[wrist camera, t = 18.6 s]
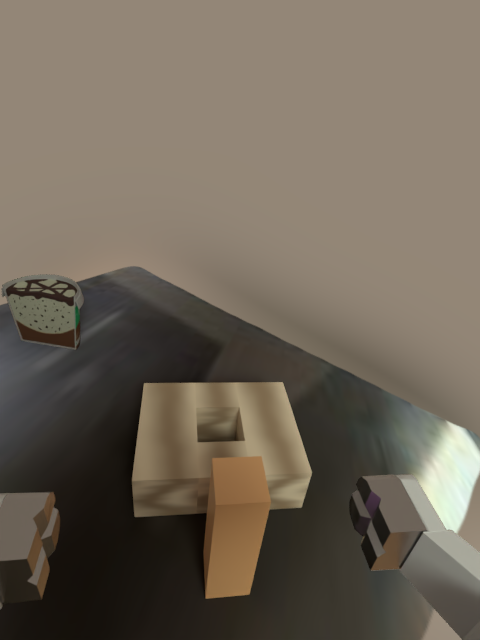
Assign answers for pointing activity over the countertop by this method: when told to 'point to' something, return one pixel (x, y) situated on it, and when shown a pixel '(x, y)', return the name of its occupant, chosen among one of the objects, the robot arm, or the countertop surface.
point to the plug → (234, 524)
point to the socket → (214, 443)
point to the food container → (46, 309)
